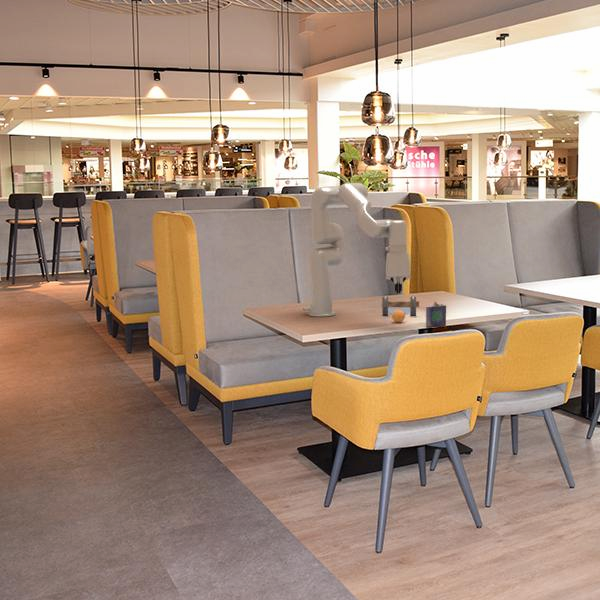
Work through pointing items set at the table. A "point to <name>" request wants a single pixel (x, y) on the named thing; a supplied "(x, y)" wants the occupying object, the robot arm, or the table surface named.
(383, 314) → the post left
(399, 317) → the ball
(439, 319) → the flask
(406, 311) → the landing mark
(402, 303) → the stopper wall
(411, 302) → the post right
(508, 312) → the table surface
